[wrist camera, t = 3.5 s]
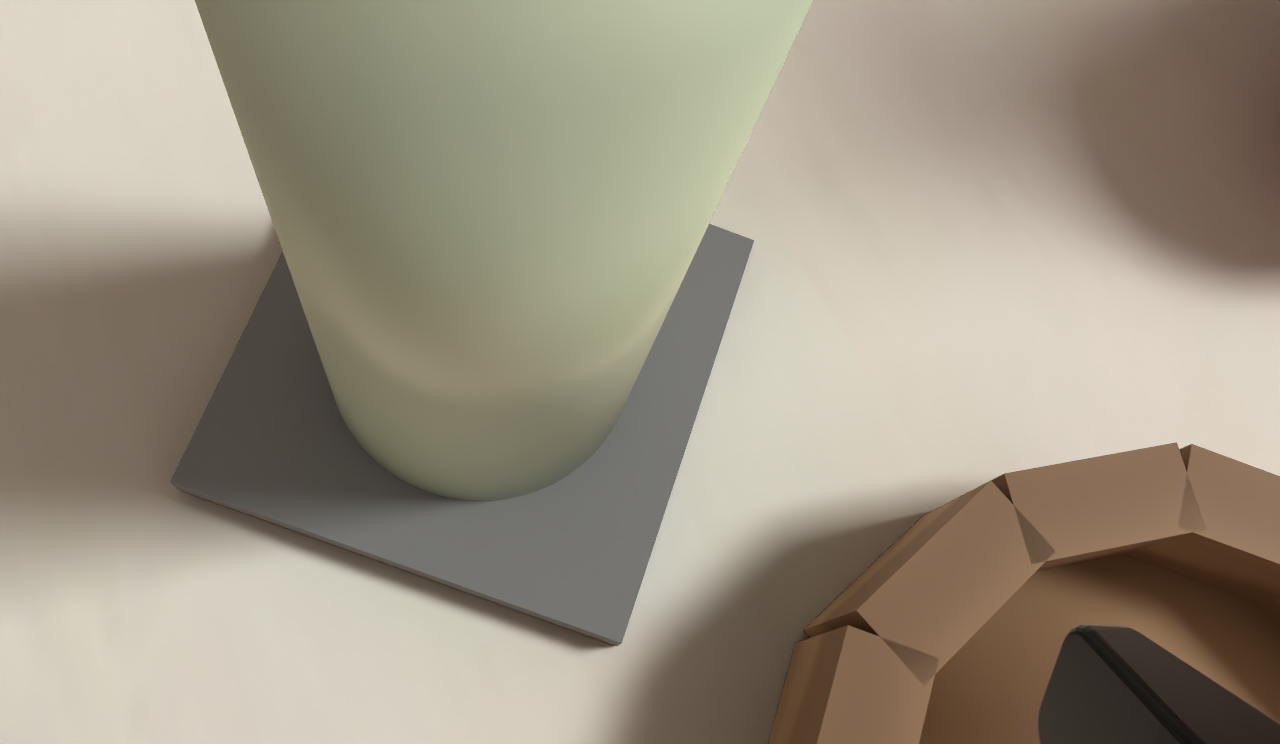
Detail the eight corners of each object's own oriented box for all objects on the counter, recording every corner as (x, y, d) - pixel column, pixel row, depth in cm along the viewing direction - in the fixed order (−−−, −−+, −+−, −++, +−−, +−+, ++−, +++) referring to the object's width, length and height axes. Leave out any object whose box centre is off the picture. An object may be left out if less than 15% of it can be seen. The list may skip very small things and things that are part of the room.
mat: (617, 646, 20) (621, 642, 20) (178, 489, 20) (170, 481, 20) (747, 253, 23) (754, 240, 23) (361, 110, 23) (359, 94, 22)
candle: (574, 545, 20) (779, 164, 7) (277, 438, 20) (-58, -147, 7) (669, 275, 22) (969, -412, 9) (398, 175, 22) (306, -672, 9)
